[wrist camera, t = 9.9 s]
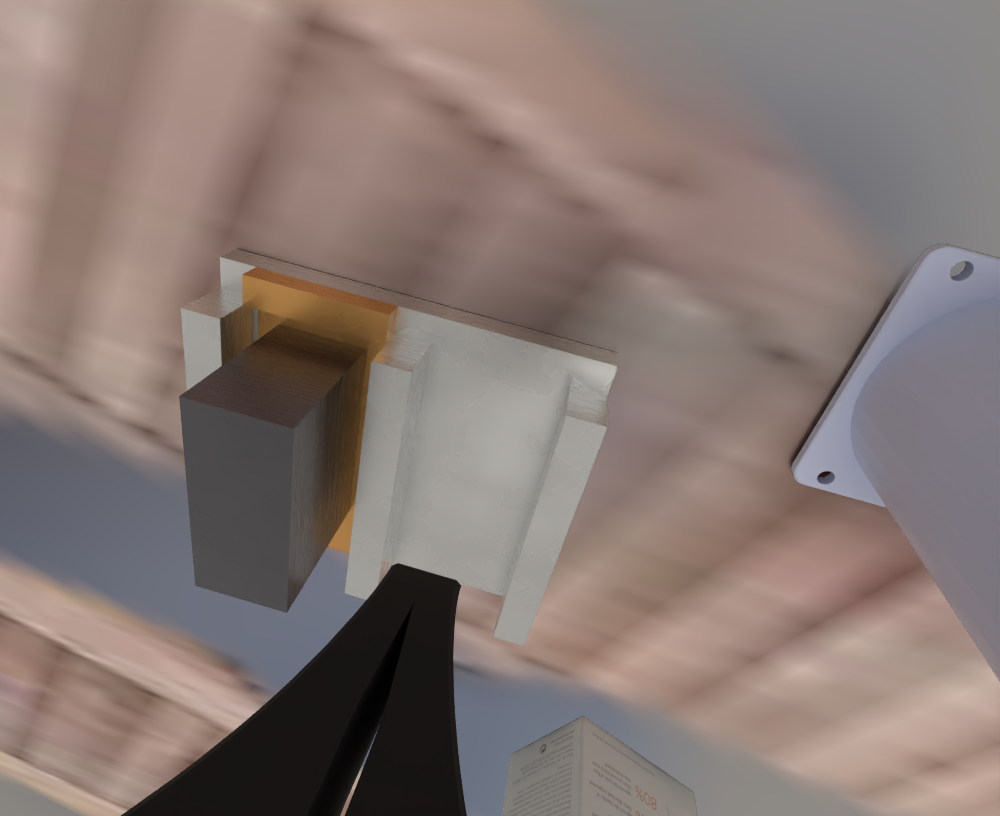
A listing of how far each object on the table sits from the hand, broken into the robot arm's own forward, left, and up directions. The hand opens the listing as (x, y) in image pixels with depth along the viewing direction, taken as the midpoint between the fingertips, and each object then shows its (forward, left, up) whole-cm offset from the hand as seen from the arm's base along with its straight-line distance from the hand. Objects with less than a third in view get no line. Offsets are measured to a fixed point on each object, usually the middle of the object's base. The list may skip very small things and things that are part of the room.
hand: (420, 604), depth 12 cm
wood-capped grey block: (+6, +3, -8) cm, 11 cm away
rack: (+3, +3, -9) cm, 10 cm away
